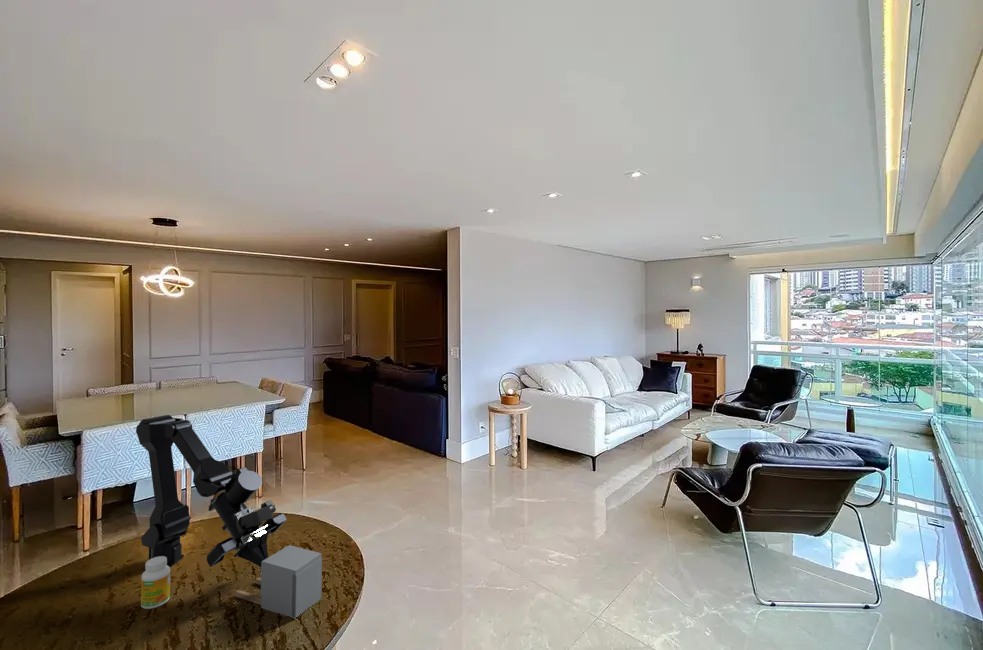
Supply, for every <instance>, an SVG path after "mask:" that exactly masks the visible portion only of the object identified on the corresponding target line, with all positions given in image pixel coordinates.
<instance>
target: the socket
mask: <svg viewBox="0 0 983 650" xmlns="http://www.w3.org/2000/svg"><path fill="white" fill-rule="evenodd" d="M322 578H323V557H322V553H321V552H317V551H313V550H310V549H306V548H304V547H303V548H302V547H298V546H295V545H290V544H288V545H287V546H285V547H284V548H282V549H280V550H278V551H277V552H275V553H274V554H271V555H270V556H268V558H267V559H265V560H263V561H262V586H261V585H260V597H261V605H260V608H261V609H264V610H267V611H269V612H272V613H275V612H276V613H275V614H278V613H280V614H279V615H281V614H283V615H282V616H284V615H287V616H291V617H294V618H296V617H298V616H299V615H300V614H302V613H303V612H304V611H305V610H306V611H308V610H309V609H310V608H311V607H313V606H314V605H315V604H317V602H319V601H320V600H321V599H322V584H323V583H322V582H323V579H322ZM312 605H313V606H312ZM309 607H310V608H309ZM308 608H309V609H308ZM307 609H308V610H307ZM306 611H305V612H306ZM305 612H304V613H305ZM304 613H303V614H304ZM303 614H302V615H303ZM287 616H286V617H287ZM300 616H301V615H300ZM300 616H299V617H300ZM299 617H298V618H299Z"/></svg>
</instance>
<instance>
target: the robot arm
mask: <svg viewBox="0 0 983 650" xmlns="http://www.w3.org/2000/svg"><path fill="white" fill-rule="evenodd" d="M135 433H136V435H137V438H138V442H139V444H140V446H141V447H143V448H144V449H145V450H146V451H147V452H148V457H149V458H148V459H149V467H150V473H151V481H152V488H153V495H154V503H155V506H154V509H153V511H152V513H151V515H150V517H149V527H148V529H147V530H146V531H145V532H144V534H143V535H142V536H141V538H140V540H141V545H142V546H143V547H147V548H148V560H150V559H152V558H155V557H159V556H164V557H166V558H167V566H169V567H170V568H171V567H172V566H174V565H175V564H176V563H177V562H179V561H181V560H182V559H183V558H184V557H185V555H184V554H182V547H183V546H182V542H181V537H183V536H186V535H187V533H188V530H189V529H188V528H189V526H190V524H191V518H192V517H191V514H190V509H189V508H190V507H189V506H188V504H183V503H182V501H180V500H179V496H178V486H177V480H176V473H175V464H174V457H173V449H172V446H173V444H174V445H175V446H176V449H178V451H179V453H180V455H182V457H183V458H184V460H185V461H186V463H187V464H188V466H189V467H190V469H191V470H192V472H193V479H192V482H193V483H192V484H193V485H194V487H195V488H196V491H197V493H198V494H199V495H200V497H203V498H210V497H212V496H214V495H217V494H218V496H217V497H216V496H215V497H213V498H211V499H210V503H209V505H208V511H209V512H211V511H215V512H216V513H217V515H218V516H219V518H220V520H221V521H222V523H223V524H224V525H223V526H222V527H221V529H222V531H223V532H224V531H226V530H227V531H228V533H229V535H230V536H231V537H229V538H227V539H224V540H222V541H220V542H219V543H217V544H216V545H215V546H214V547H213V548H212V549H211V550H210V551H209V552H208V553H207V555H206V562H207V564H208V566H209V567H210V568H212V567H214V566H215V565H218V564H219V563H221V562H223V560H224V558H225V555H227V554H228V553H230V552H232V551H235V552H236V553H235V554H234V555H233V558H235V559H236V558H241V559H243V560H246V561H248V562H250V563H252V564H254V565H256V566H257V567H259V568H261V562H262V561H263V560H265V559H267V558H268V557H269V551H268V542H267V540H268V537H269V536H271V535H272V534H274V533H276V532H277V531H278V530H279V529H280V528H281V527H282V526H283V525H284V524H285V522H287V521H288V519H287V517H286V515H285V514H284V513H282V512H279V513H275V512H276V510H277V508H276V506H275V504H274V502H272V500H271V499H269V500H267V501H265V502H263V503H261V504H260V508H258V509H256V510H255V508H254V507H252V506H250V507H248V506H247V505H246V502H248V501H249V500H250V499H251V498H252V497H253V495H255V493H256V492H257V491H258V490H259V489H260V488H261V486H262V485H263V478H262V477H261V475H260V474H259V473H257V472H256V471H253V470H248V469H247V467H241V468H238V469H237V470H236V472H234V471H231V469H230V468H229V467H228V466H227V465H226V464H225V463H223V462H222V461H219V460H216V459H215V458H214V457H213V456H212V454H211V453H210V451H209V450H208V449H207V447H206V446H205V444H204V443H203V441H202V440H201V439H200V437H199V436H198V434H197V433H196V432H195V430H194V429H193V424H192V422H191V420H188V419H183V418H181V417H173V416H171V415H170V414H164V415H159V416H153V417H147V418H143V419H141V421H140V422H139V424H137V426H136V428H135ZM274 513H275V514H274ZM273 514H274V515H273ZM143 569H144V570H145V565H144V566H143Z"/></svg>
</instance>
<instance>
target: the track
mask: <svg viewBox="0 0 983 650" xmlns="http://www.w3.org/2000/svg"><path fill="white" fill-rule="evenodd" d="M255 584H256V585H258V586H261V577H259V576H258V577H256V578H255ZM235 597H236V598H239V599H242V600H244V601H248V602H251V603H254V604H257V605H260V606H261V595H260V596H259V595H256V594H253V593H251V592H248V591H243V590H240V589H238V590H236V591H235Z"/></svg>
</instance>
